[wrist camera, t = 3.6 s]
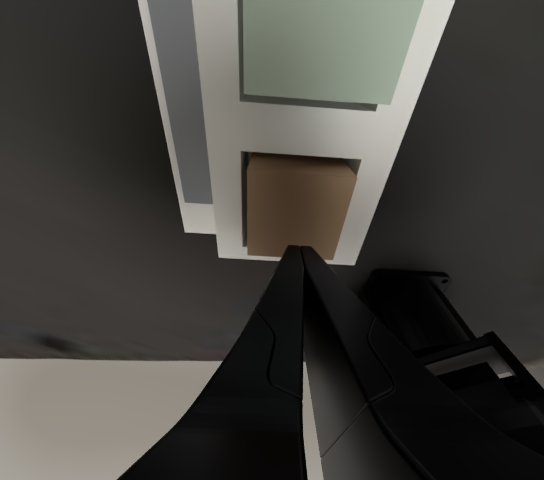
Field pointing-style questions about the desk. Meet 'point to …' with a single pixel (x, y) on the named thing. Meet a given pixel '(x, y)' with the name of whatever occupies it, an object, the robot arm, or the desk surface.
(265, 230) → the walnut key
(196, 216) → the key panel
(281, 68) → the sage key
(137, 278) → the desk surface
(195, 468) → the robot arm
